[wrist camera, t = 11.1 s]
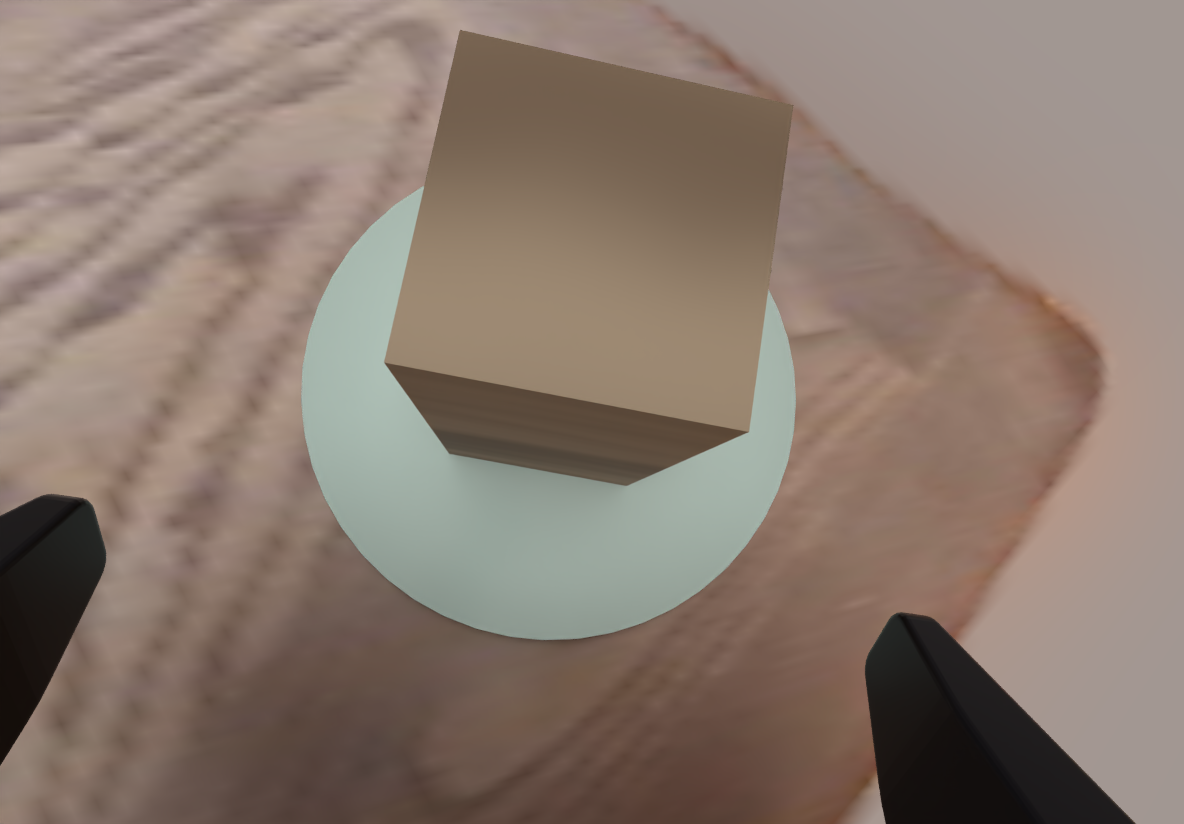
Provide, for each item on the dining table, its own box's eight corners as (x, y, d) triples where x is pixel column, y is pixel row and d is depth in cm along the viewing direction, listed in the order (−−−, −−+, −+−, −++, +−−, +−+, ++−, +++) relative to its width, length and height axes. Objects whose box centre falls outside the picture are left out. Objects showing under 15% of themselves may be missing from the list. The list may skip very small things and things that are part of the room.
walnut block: (626, 485, 21) (748, 431, 10) (449, 453, 21) (383, 361, 10) (654, 317, 22) (793, 105, 11) (484, 283, 22) (460, 30, 11)
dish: (670, 716, 21) (680, 727, 20) (219, 504, 21) (202, 502, 20) (846, 294, 24) (864, 282, 23) (450, 99, 24) (446, 76, 23)
